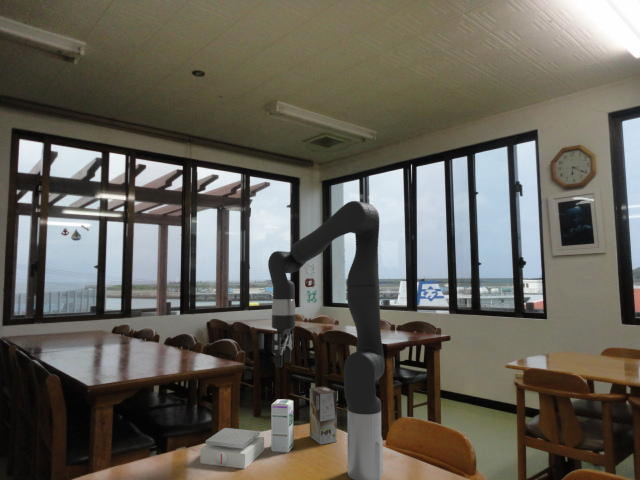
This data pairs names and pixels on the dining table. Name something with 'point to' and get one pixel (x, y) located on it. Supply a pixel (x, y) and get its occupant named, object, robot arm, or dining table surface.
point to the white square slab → (232, 454)
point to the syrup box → (282, 425)
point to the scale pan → (233, 438)
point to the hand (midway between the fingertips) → (283, 364)
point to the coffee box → (323, 415)
